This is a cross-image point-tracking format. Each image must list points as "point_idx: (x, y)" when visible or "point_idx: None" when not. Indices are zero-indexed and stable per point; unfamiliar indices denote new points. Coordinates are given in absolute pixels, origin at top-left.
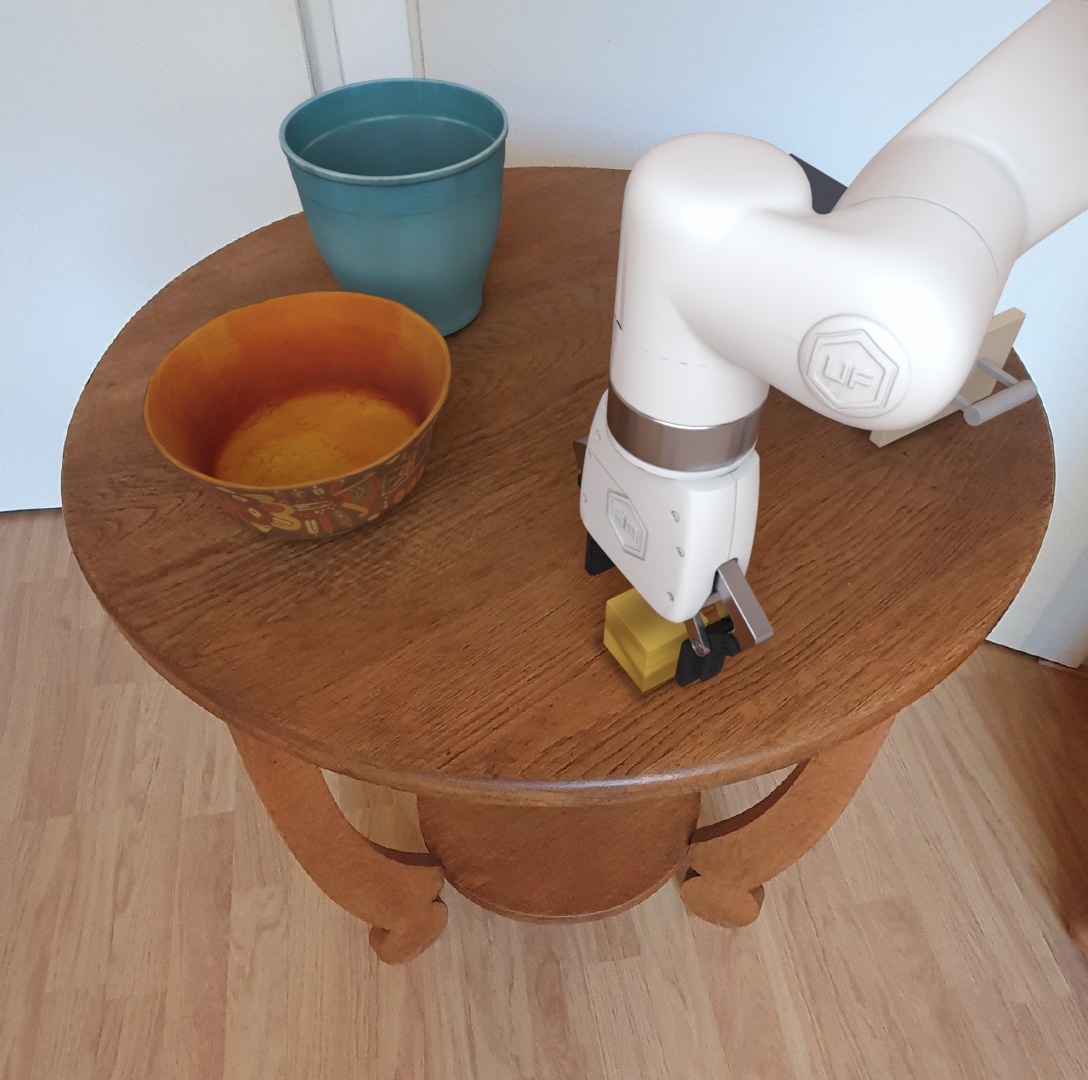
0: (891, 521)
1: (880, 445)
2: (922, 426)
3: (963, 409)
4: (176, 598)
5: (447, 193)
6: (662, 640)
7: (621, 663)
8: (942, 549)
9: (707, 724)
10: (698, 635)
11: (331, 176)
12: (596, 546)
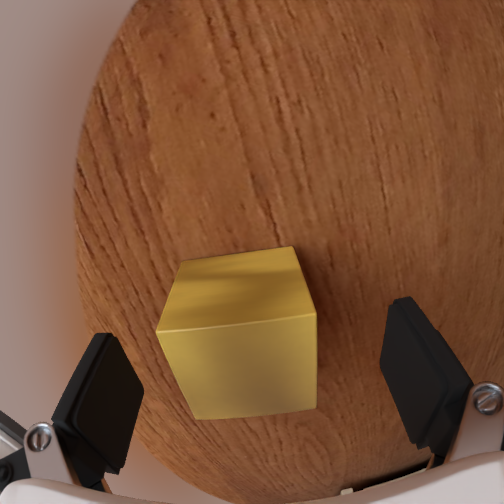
0: (285, 480)
1: (341, 491)
2: None
3: None
4: None
5: None
6: (173, 361)
7: (240, 256)
8: (246, 487)
9: (117, 310)
10: (31, 465)
11: None
12: (428, 370)
